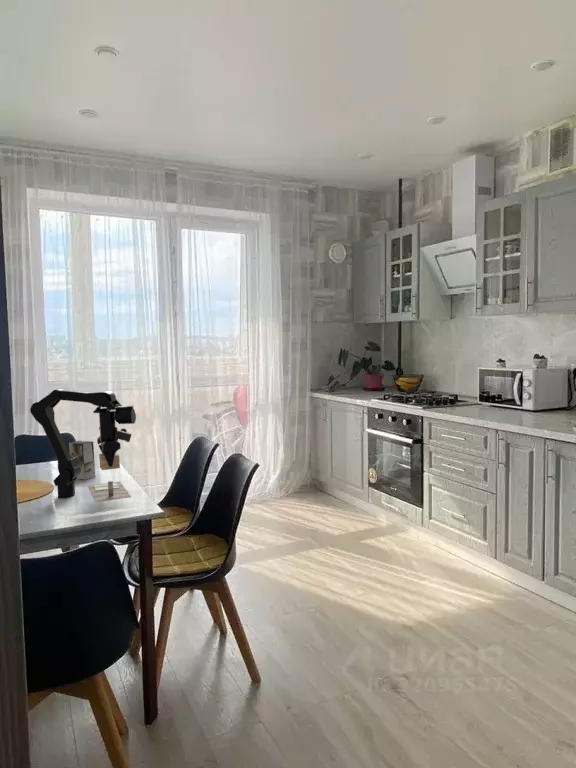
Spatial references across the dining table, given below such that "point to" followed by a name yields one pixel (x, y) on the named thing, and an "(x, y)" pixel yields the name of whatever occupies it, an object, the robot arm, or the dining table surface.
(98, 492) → the board
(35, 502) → the dining table surface
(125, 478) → the dining table surface
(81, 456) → the coffee box
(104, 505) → the dining table surface
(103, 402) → the robot arm
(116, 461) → the collar
